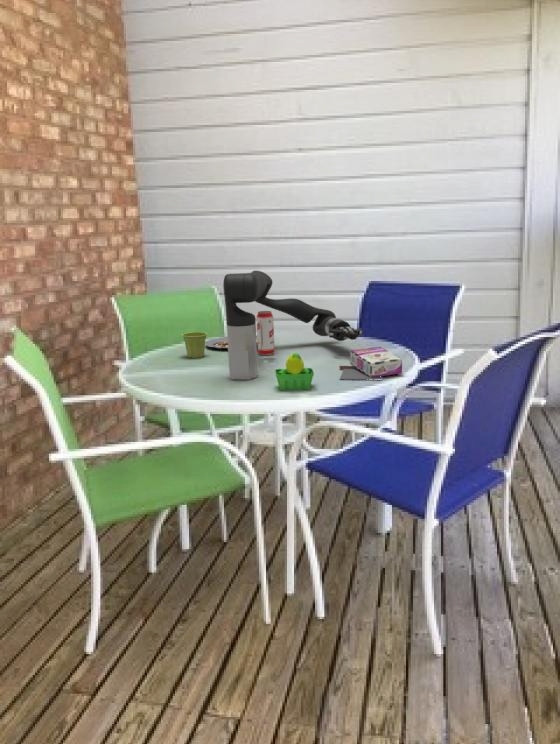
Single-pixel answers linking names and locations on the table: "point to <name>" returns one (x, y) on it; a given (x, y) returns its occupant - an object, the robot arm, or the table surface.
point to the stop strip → (347, 367)
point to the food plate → (220, 342)
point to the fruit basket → (294, 374)
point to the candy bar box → (376, 362)
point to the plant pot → (195, 343)
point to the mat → (355, 375)
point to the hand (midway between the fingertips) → (353, 336)
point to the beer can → (265, 333)
